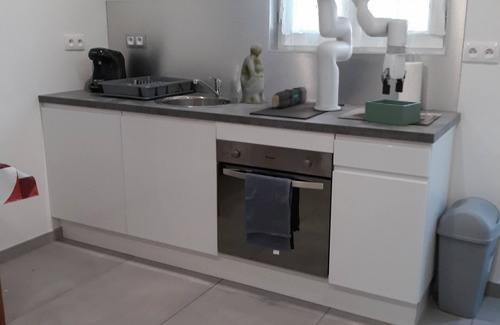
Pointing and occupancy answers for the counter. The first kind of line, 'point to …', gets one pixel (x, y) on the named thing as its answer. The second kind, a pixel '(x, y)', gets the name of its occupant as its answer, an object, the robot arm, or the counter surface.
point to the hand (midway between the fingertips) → (392, 93)
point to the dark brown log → (289, 97)
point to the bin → (392, 111)
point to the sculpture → (253, 77)
